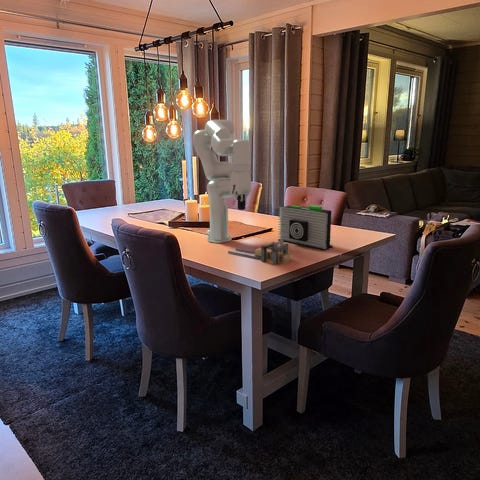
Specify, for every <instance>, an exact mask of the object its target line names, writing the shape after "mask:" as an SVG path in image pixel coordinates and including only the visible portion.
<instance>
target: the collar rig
mask: <svg viewBox="0 0 480 480" xmlns="http://www.w3.org/2000/svg"><path fill="white" fill-rule="evenodd" d="M277 245H279V246H277ZM260 248H261V260H260V262H262V263H265V262H267V261H268V260H267V249H270V248H271V249H270V250H273V261H272V265H278V264H279V263H278V251H281V252H286V253H289V243H284V242H283V240H280V241H278V240H277V241H272V242H270V243H267V244H265V245H262V246H261V247H260Z"/></svg>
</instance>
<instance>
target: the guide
mask: <svg viewBox="0 0 480 480" xmlns="http://www.w3.org/2000/svg"><path fill="white" fill-rule="evenodd" d="M236 251H237V252H236ZM227 253H228V254H229V255H233V256H234V255H235V256H240V257H243V258H244V257H246V258H249V259H254V260H259V261H261V257H256V256H255V251H252V250H249V249H244V248H243V249H242V248H237V247H236V248H235V251H230V250H227ZM246 253H248V254H246ZM250 254H253V255H250Z"/></svg>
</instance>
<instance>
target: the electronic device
mask: <svg viewBox="0 0 480 480" xmlns="http://www.w3.org/2000/svg"><path fill="white" fill-rule="evenodd" d="M278 208H279V209H278V218H279V219H278V236H277V238H278V239H277V242H278V241H280V240H283V243H285V244H291V245H295V246H301V247H305V248H310V249H314V250H318V249H319V250H320V251H323V250H324V251H325V252H326V251H328V250H331V249H333V248H334V245H331V233H332V232H331V229H332V210H328V209H323V206H319V205H314V204H313V205H312V204H310V205H308V206H299V205H292V204H290V205H286V206H284V205H279V206H278ZM330 248H331V249H330ZM319 250H318V251H319ZM324 251H323V252H324Z"/></svg>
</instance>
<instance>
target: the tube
mask: <svg viewBox="0 0 480 480" xmlns="http://www.w3.org/2000/svg"><path fill="white" fill-rule="evenodd" d="M254 252H255V254H254V256H256V257H261V247H258V248H256V249H255V250H254ZM291 256H292V254H291V253H289V252H288V253H286V252H281V251H278V264H285V265H287V264H289V263H291V259H292V257H291ZM267 261H269V262H273V250H271V249H270V248H268V249H267Z"/></svg>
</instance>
